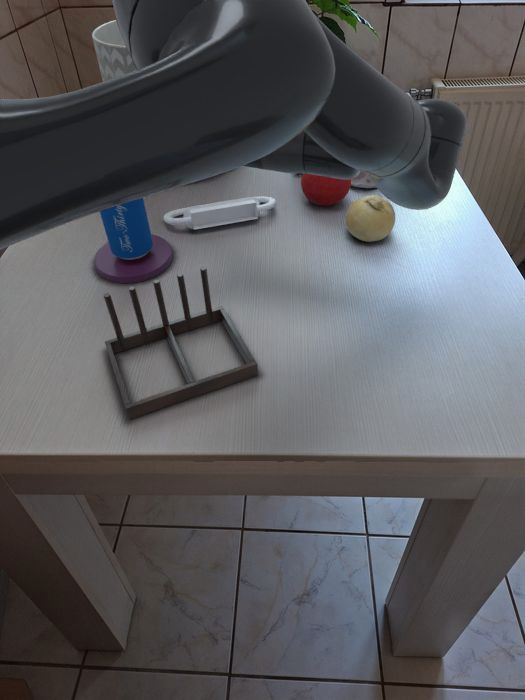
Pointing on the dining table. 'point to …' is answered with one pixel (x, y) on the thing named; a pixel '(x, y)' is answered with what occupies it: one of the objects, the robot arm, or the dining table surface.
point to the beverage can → (128, 229)
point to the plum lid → (134, 263)
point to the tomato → (324, 189)
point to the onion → (370, 218)
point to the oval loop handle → (220, 212)
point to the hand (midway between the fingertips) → (151, 118)
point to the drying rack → (176, 347)
